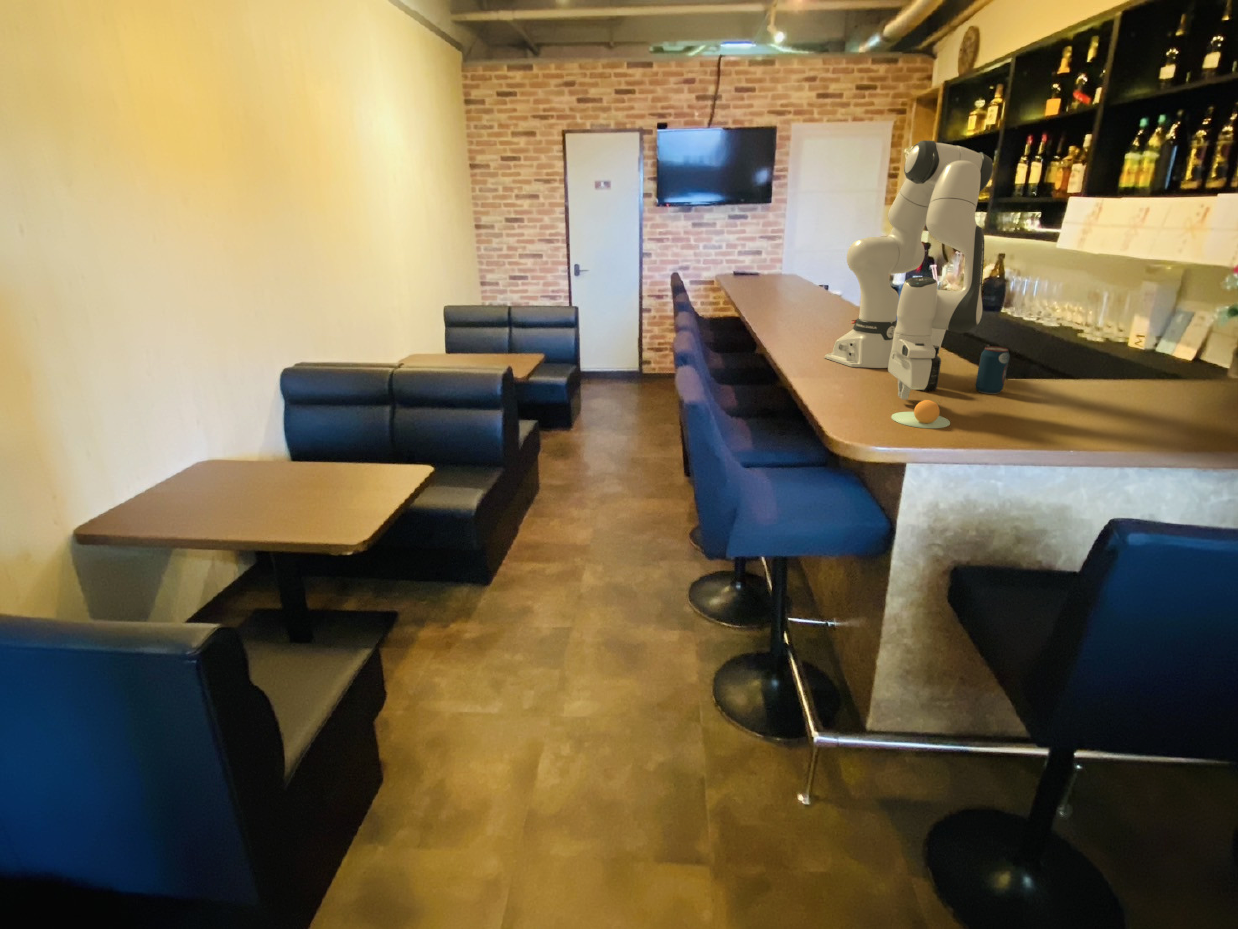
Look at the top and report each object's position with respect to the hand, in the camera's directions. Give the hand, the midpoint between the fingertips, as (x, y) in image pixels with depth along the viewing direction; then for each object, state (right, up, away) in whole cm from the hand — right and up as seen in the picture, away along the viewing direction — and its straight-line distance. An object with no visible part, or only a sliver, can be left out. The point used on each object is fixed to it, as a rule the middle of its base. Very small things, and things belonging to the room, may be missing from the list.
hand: (902, 398), depth 179 cm
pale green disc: (-1, -6, -12) cm, 14 cm away
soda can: (+29, +3, +13) cm, 32 cm away
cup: (+15, +8, +27) cm, 32 cm away
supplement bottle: (+12, +4, +16) cm, 20 cm away
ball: (-1, -5, -16) cm, 16 cm away
